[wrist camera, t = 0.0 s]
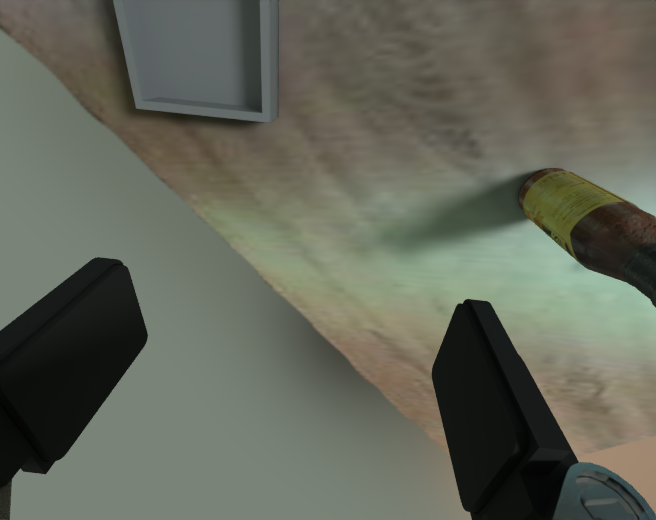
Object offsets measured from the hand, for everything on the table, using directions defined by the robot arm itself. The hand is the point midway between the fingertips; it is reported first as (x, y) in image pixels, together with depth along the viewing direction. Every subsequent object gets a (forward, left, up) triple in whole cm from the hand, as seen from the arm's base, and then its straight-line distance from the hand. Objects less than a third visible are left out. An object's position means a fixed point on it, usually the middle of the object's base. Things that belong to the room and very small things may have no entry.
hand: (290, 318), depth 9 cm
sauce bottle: (+5, +25, -31) cm, 40 cm away
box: (-7, -13, -31) cm, 35 cm away
